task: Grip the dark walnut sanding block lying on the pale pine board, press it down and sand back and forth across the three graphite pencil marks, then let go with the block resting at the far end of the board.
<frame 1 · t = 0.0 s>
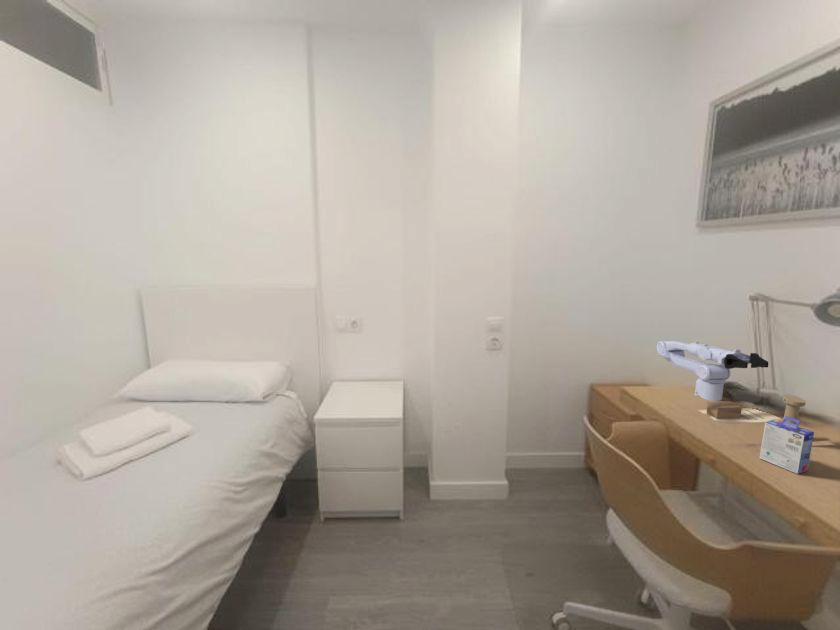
hand: (757, 364, 143), 22 cm above the table, tool horizontal, fingers open, 7 cm apart
handle: (787, 441, 133), on the table
sanding board: (739, 419, 149), on the table
ink cartridge box: (783, 465, 119), on the table
sanding block: (723, 415, 149), point 1 cm above the table, touching sanding board
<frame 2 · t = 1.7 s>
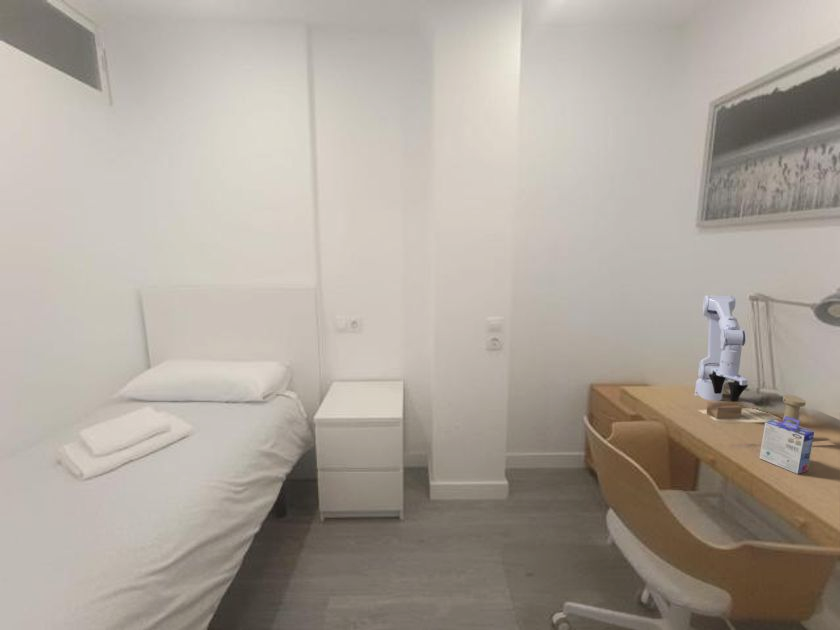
hand: (725, 397, 147), 9 cm above the table, tool pointing down, fingers open, 7 cm apart
nothing on the table moved.
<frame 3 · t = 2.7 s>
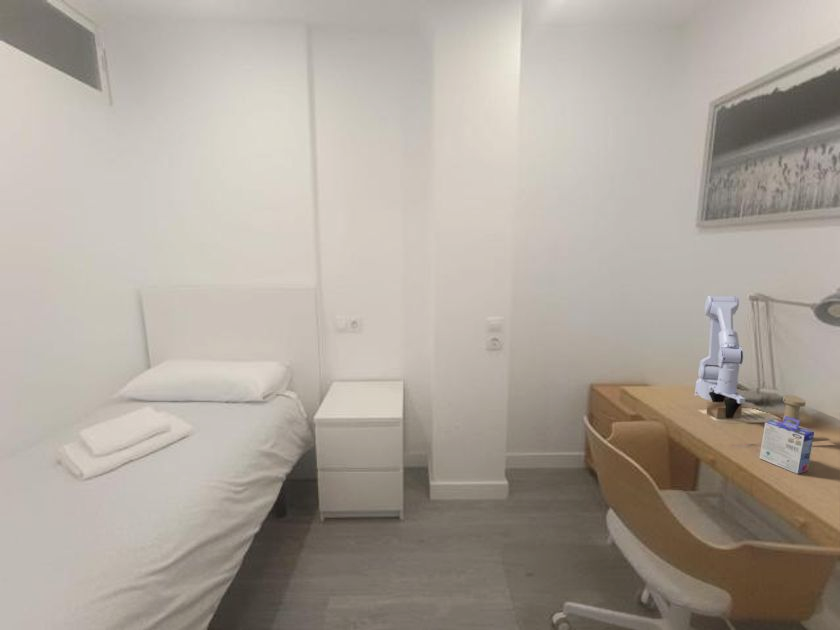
hand: (723, 414, 149), 2 cm above the table, tool pointing down, fingers closed on sanding block, 5 cm apart
sanding block: (723, 415, 149), point 1 cm above the table, touching gripper, sanding board
everything else where it was.
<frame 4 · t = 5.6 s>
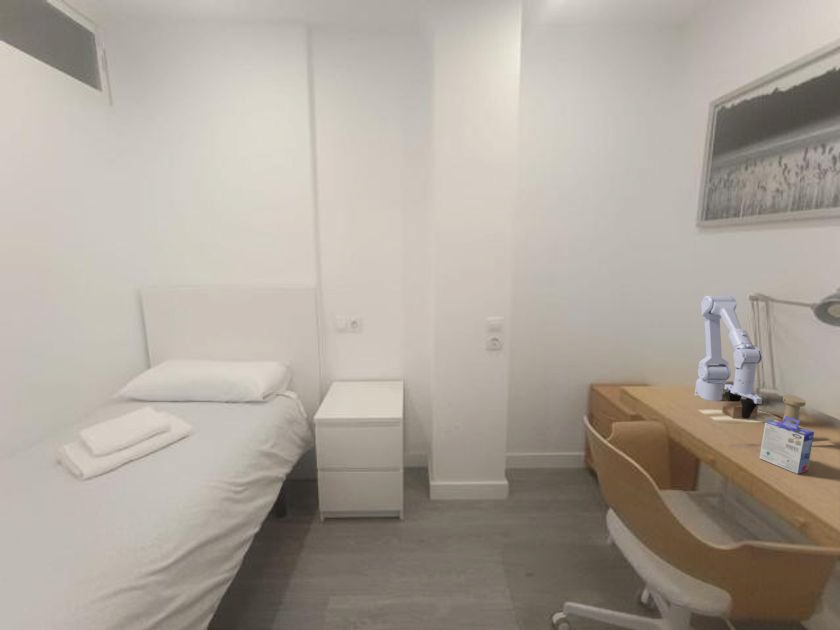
hand: (739, 414, 149), 2 cm above the table, tool pointing down, fingers closed on sanding block, 5 cm apart
sanding block: (739, 415, 149), point 2 cm above the table, touching gripper
everything else where it was.
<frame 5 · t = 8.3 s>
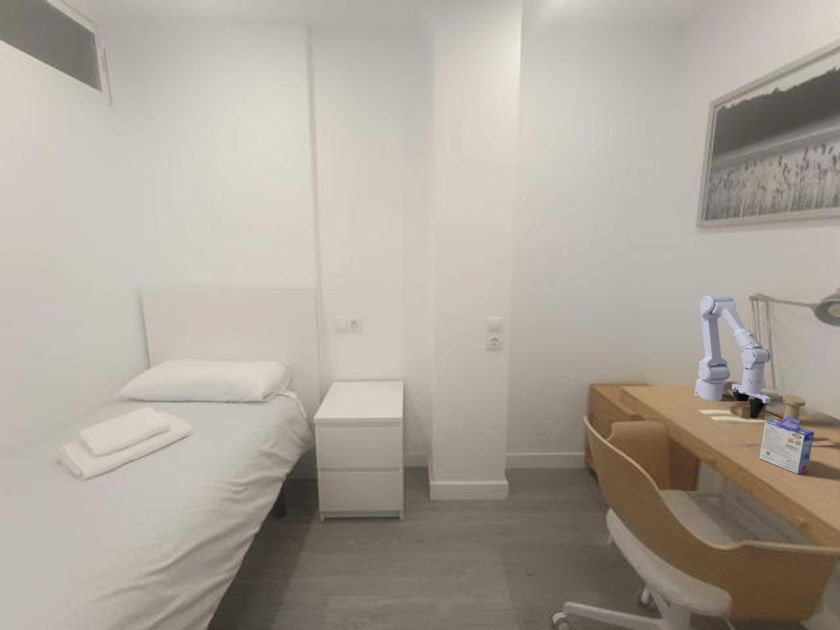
hand: (747, 414, 149), 2 cm above the table, tool pointing down, fingers closed on sanding block, 5 cm apart
sanding block: (747, 414, 149), point 2 cm above the table, touching gripper
everything else where it was.
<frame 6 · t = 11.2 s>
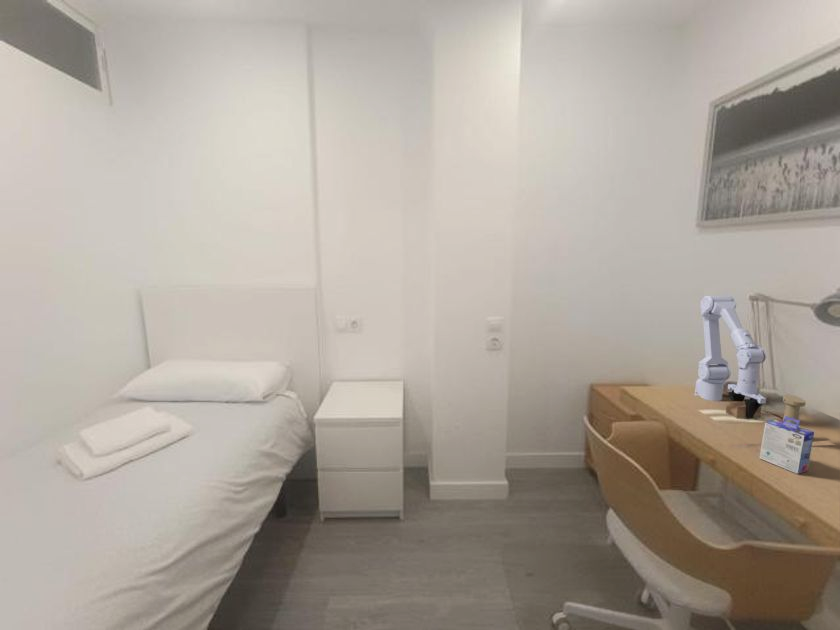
hand: (743, 414, 149), 2 cm above the table, tool pointing down, fingers closed on sanding block, 5 cm apart
sanding block: (742, 415, 149), point 2 cm above the table, touching gripper
everything else where it was.
when the fingers open (2 cm above the table, at t = 13.8 s): sanding block stays where it is, resting on sanding board.
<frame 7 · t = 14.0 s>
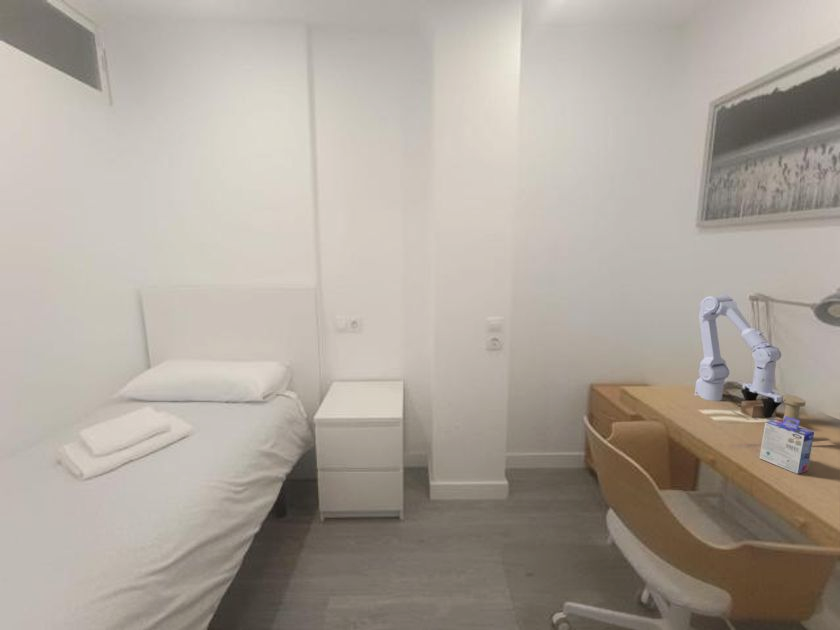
hand: (758, 412, 149), 2 cm above the table, tool pointing down, fingers open, 7 cm apart
sanding block: (757, 414, 149), point 2 cm above the table, touching sanding board
everything else where it was.
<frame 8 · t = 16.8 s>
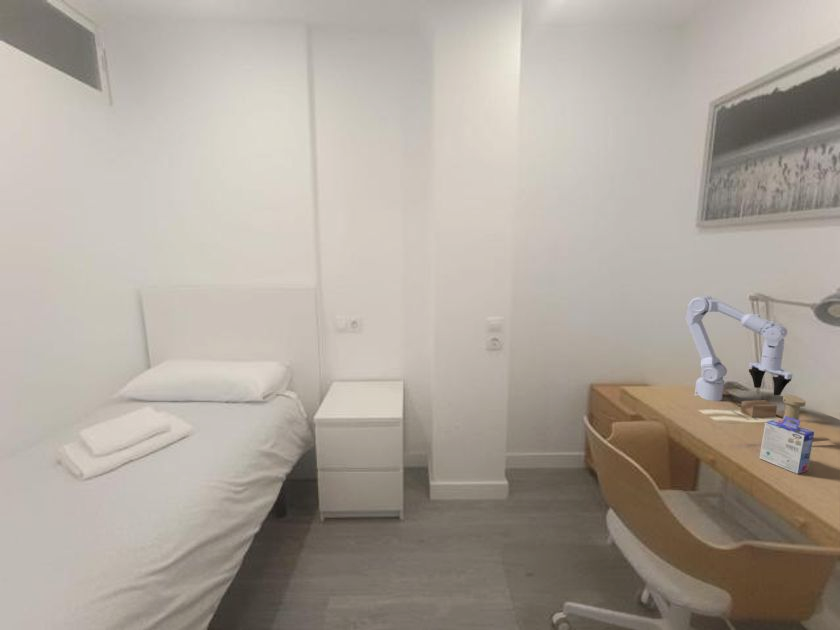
hand: (766, 391, 151), 9 cm above the table, tool pointing down, fingers open, 7 cm apart
nothing on the table moved.
at the end: sanding block 0.2 cm from the target spot on the sanding board, point 1.5 cm above the sanding board's base; sanding block tilted 0°; the gripper is holding nothing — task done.
